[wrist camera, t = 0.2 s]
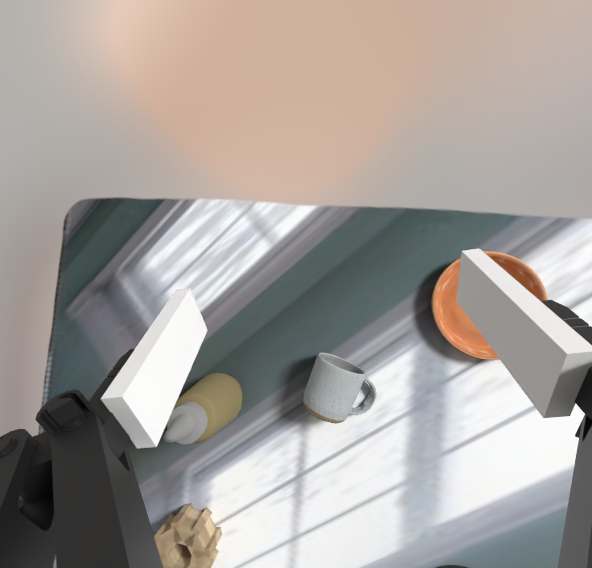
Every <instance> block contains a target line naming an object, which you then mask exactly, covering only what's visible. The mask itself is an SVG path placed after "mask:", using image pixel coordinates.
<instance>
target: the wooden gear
mask: <svg viewBox="0 0 592 568" xmlns="http://www.w3.org/2000/svg"><path fill="white" fill-rule="evenodd" d="M211 513H212V512H211V511H210V510H208V509H207V508H206V509H205V510H204V511H201V510H197V509H194V508H192V504H185V505H184V506H183V508H182V509H181V510H180V512H179V513H178V514H177V515H174V514H173V513H172V514H171V515H170V517H169V518H168V519H167V520H166V522H165V523H164V524H163V525H162V527H161V528H160V529H159V531H158V532H157V533H156V535H155V536H154V538H155V541H156V545H157V548H158V551H159V555H160V558H161V561H162V565H163V568H211V566H212V564H213V562H214V560H215V558H216V555H217V553H218V550H217V549H215V547H216V545H217V543H218V541H219V539H220V537H221V535H222V534H221V528H220V527H216V526H215V525H214V523H213V521H212V519H211V518H210V515H211Z"/></svg>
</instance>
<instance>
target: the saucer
mask: <svg viewBox="0 0 592 568" xmlns="http://www.w3.org/2000/svg"><path fill="white" fill-rule="evenodd" d="M484 253H485V254H486V255H488V256H489V257H490V258H491V259H492V260H493V261H494V262H496V263H497V264H498V265H499V266H500V267H501V268H503V269H504V270H505V271H506V272H507V273H508V274H510V275H511V276H512V277H513V278H514V279H515V280H516V281H518V282H519V283H520V284H521V285H522V286H523V287H525V288H526V289H527V290H528V291H529V292H530V293H532V294H533V295H534V296H535V297H536V298H537V299H539V300H540V301H545V300H548V299H547V294H546V291H545V288H544V286H543V284H542V282H541V280H540V279H539V277H538V276H537V274H536V273H535V272H534V271H533V270H532V269H531V268H530V267H529V266H528V265H526V264H525V263H524V262H522V261H521V260H519V259H517V258H515V257H513V256H510V255H507V254H504V253H499V252H491V251H486V252H484ZM460 262H461V258H460V259H458V260H456V261H455V262H453V263H452V264H451V265H449V266H448V267H447V268H446V269H445V270H444V271H443V273H442V274H441V275H440V277H439V278H438V280H437V282H436V284H435V287H434V290H433V293H432V302H431V305H432V313H433V317H434V320H435V323H436V325H437V327H438V329H439V331H440V332H441V334H442V335H443V336H444V338H445V339H446V340H447V341H448V342H449V343H450V344H451V345H453V346H454V347H455V348H457V349H458V350H460V351H461V352H463V353H465V354H467V355H470V356H472V357H476V358H480V359H486V360H499V357H498V356H497V355H496V353H495V352H494V351H493V349H492V348H491V347H490V345H489V344H488V343H487V341H486V340H485V338H484V337H483V336H482V334H481V333H480V332H479V330H478V329H477V328H476V326H475V325H474V324H473V322H472V321H471V320H470V318H469V317H468V316H467V314H466V313H465V312H464V310H463V309H462V308H461V306H460V305H459V303H458V302H457V301H456V299H457V290H458V281H459V271H460Z"/></svg>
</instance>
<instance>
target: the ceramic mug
mask: <svg viewBox="0 0 592 568" xmlns="http://www.w3.org/2000/svg"><path fill="white" fill-rule="evenodd" d="M365 376H366V373H365V372H364V371H363V370H362V369H361V368H359V367H358V366H356V365H355V364H353V363H351V362H349V361H346V360H344V359H342V358H340V357H337V356H334V355H331V354H327V353H319V354H318V355H317V358H316V361H315V364H314V366H313V369H312V372H311V375H310V378H309V381H308V383H307V386H306V389H305V392H304V397H303V403H304V406H305V407H306V409H307V410H308V411H309V412H310V413H311V414H313V415H314V416H316V417H318V418H320V419H322V420H324V421H327V422H331V423H341V422H343V421H344V420H345V419H346V418H347V416H348V415H349V414H353V415H359V414H363V413H365V412H366V411H368V410H369V409H370V408H371V406H372V405H373V403H374V401H375V399H376V389H375V387H374V385H373V383H372V382H371V381H370V380H369V379H367V378H366V377H365ZM364 380H365V381H367V382H368V383H369V385H370V392H369V394H368V396H367V398H366V400H365V401H364V402H363V405H362V406H360V407H358V408H352V407H353V404H354V401H355V399H356V397H357V395H358V393H359V390H360V388H361V386H362V384H363V382H364Z"/></svg>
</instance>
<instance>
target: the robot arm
mask: <svg viewBox="0 0 592 568" xmlns="http://www.w3.org/2000/svg"><path fill="white" fill-rule="evenodd" d="M456 301H457V302H458V303H459V305H460V306H461V308H462V309H463V310H464V312H465V313H466V314H467V316H468V317H469V318H470V320H471V321H472V322H473V324H474V325H475V326H476V328H477V329H478V330H479V332H480V333H481V334H482V336H483V337H484V338H485V340H486V341H487V343H488V344H489V345H490V347H491V348H492V349H493V351H494V352H495V353H496V355H497V356H498V357H499V359H500V360H501V361H502V363H503V364H504V365H505V367H506V368H507V369H508V371H509V372H510V373H511V375H512V376H513V378H514V379H515V380H516V382H517V383H518V384H519V386H520V387H521V388H522V390H523V391H524V392H525V394H526V395H527V396H528V398H529V399H530V400H531V402H532V403H533V404H534V406H535V407H536V408H537V410H538V411H539V413H540V414H541V415H542V417H543V418H549V417H562V416H570V414H571V412H572V410H573V408H574V405H575V403H576V404H577V405H578V406H579V407H580V409H581V410H582V411H583V412H584V413H585V416H584V418H583V420H582V422H581V424H580V426H579V428H578V430H577V433H576V435H575V436H576V437H578V438H579V442H578V448H577V454H576V460H575V466H574V473H573V479H572V485H571V491H570V497H569V503H568V509H567V515H566V521H565V527H564V533H563V539H562V545H561V551H560V557H559V564H558V568H592V327H591V326H590V327H589V324H587V323H586V322H585V321H584V320H582V319H579V316H577V315H576V314H575V313H574V312H572V311H571V310H570V309H569V308H567V307H565V306H563V305H561V304H559V303H557V302H555V301H552V300H545V301H540V300H539V299H537V298H536V297H535V296H534V295H533V294H532V293H530V292H529V291H528V290H527V289H526V288H525V287H523V286H522V285H521V284H520V283H519V282H518V281H516V280H515V279H514V278H513V277H512V276H511V275H510V274H508V273H507V272H506V271H505V270H504V269H503V268H501V267H500V266H499V265H498V264H497V263H496V262H494V261H493V260H492V259H491V258H490V257H489V256H488V255H486V254H485V253H484V252H483V251H482V250H481V249H472V250H465V251H462V253H461V262H460V271H459V281H458V290H457V299H456ZM206 332H207V328H206V326H205V323H204V321H203V318H202V316H201V313H200V311H199V309H198V306H197V304H196V301H195V299H194V296H193V294H192V291H191V289H190V288H188V289H180V290H176V291H175V292H174V294H173V295H172V297H171V298H170V299H169V301H168V302H167V304H166V305H165V307H164V308H163V310H162V311H161V312H160V314H159V315H158V317H157V318H156V320H155V321H154V322H153V324H152V325H151V327H150V328H149V330H148V331H147V333H146V334H145V335H144V337H143V338H142V340H141V341H140V343H139V344H138V346H137V347H136V348H135V349H130V350H129V351H128V352H127V353H126V354H125V355H123V356H122V357H121V358H120V359H119V360H118V362H117V363H116V365H115V366H114V367H113V370H111V372H110V373H109V374H108V376H107V378H105V380H104V381H103V383H102V384H101V385H100V387H99V388H98V389H97V391H96V392H95V394H94V395H93V396H92V398H91V399H90V400H89V402H88V401H87V399H86V398H85V397H84V395H83V394H82V393H81V392H80V391H79V390H70V391H66V392H64V393H61V394H59V395H57V396H56V397H54V398H53V399H51V400H50V401H48V402H47V403H46V404H45V405H44V406H43V407H42V408H41V409H40V411H39V412H38V414H37V416H36V421H37V422H38V423H39V424H40V425H41V426H42V427H43V428H44V429H45V430H46V431H47V432H45V433H42V434H39V435H36V436H34V437H32V436H31V435H30V434H29V433H28V432H27V431H26V430H25V429H18V430H14V431H11V432H9V433H7V434H5V435H3V436H1V437H0V568H53V565H54V560H55V555H56V566H57V568H163V565H162V561H161V558H160V555H159V551H158V548H157V545H156V542H155V538H154V535H153V532H152V528H151V525H150V522H149V519H148V515H147V512H146V509H145V505H144V502H143V499H142V495H141V492H140V489H139V486H138V482H137V479H136V476H135V472H134V469H133V466H132V462H131V459H130V456H129V453H128V452H127V451H126V449H125V448H126V446H127V444H128V442H129V440H130V439H131V441H132V442H133V443H134V445H135V446H136V447H137V448H149V447H157V445H158V443H159V440H160V438H161V436H162V433H163V431H164V429H165V426H166V424H167V422H168V420H169V417H170V415H171V413H172V410H173V408H174V406H175V404H176V401H177V399H178V397H179V394H180V392H181V390H182V387H183V385H184V383H185V381H186V378H187V376H188V374H189V371H190V369H191V367H192V364H193V362H194V360H195V358H196V355H197V353H198V351H199V348H200V346H201V344H202V342H203V339H204V337H205V335H206ZM439 568H467V567H462V566H444V567H439Z"/></svg>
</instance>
